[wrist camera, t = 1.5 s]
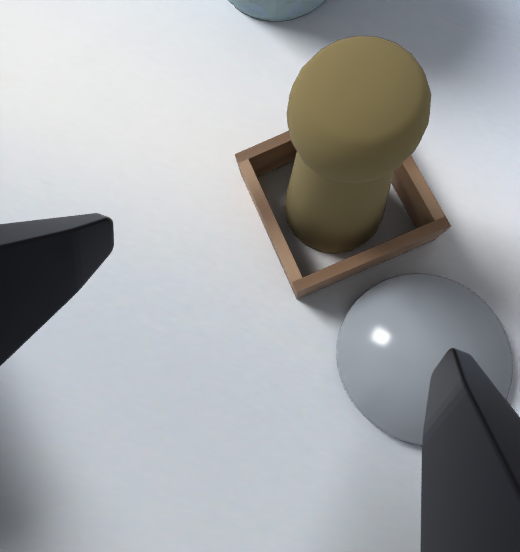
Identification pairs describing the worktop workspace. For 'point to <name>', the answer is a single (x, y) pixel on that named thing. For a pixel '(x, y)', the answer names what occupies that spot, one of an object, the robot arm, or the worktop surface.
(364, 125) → the cork
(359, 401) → the coaster
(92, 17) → the worktop surface
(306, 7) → the green cup
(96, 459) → the worktop surface
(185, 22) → the worktop surface
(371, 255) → the frame
